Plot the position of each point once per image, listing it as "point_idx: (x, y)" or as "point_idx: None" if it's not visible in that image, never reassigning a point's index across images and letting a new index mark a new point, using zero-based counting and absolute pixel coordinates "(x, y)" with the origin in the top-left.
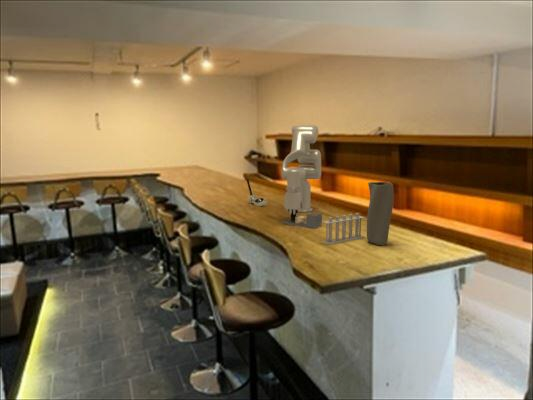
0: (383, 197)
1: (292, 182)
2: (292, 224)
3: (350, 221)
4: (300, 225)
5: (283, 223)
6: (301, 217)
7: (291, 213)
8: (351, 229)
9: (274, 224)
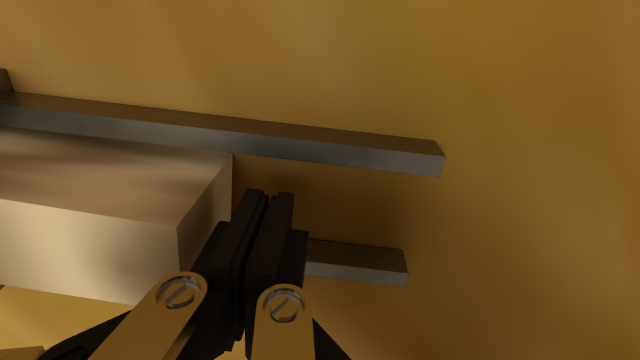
0: None
1: None
2: (253, 125)
3: None
4: (112, 109)
5: (416, 141)
6: (31, 215)
7: (262, 296)
8: None
9: (564, 61)
